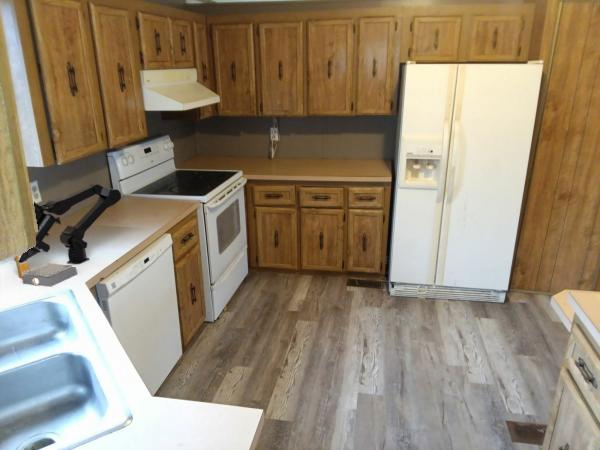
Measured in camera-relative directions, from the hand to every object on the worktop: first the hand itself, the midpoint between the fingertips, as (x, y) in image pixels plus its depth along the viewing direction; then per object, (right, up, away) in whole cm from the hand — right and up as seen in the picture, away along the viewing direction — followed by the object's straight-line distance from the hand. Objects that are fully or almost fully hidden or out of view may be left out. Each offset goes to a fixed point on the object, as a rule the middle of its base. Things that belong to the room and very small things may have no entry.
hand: (17, 261), depth 172 cm
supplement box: (+1, -6, +3) cm, 7 cm away
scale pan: (+13, -4, 0) cm, 13 cm away
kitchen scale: (+13, -7, 0) cm, 14 cm away
